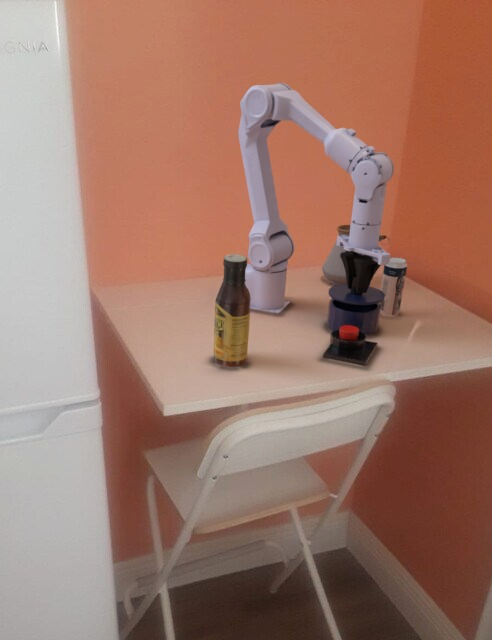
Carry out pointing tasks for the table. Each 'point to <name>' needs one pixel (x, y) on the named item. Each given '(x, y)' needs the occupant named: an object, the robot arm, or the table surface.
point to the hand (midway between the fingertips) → (356, 290)
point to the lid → (356, 294)
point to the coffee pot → (338, 259)
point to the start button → (348, 332)
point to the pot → (353, 316)
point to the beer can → (393, 286)
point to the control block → (350, 349)
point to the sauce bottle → (232, 314)
